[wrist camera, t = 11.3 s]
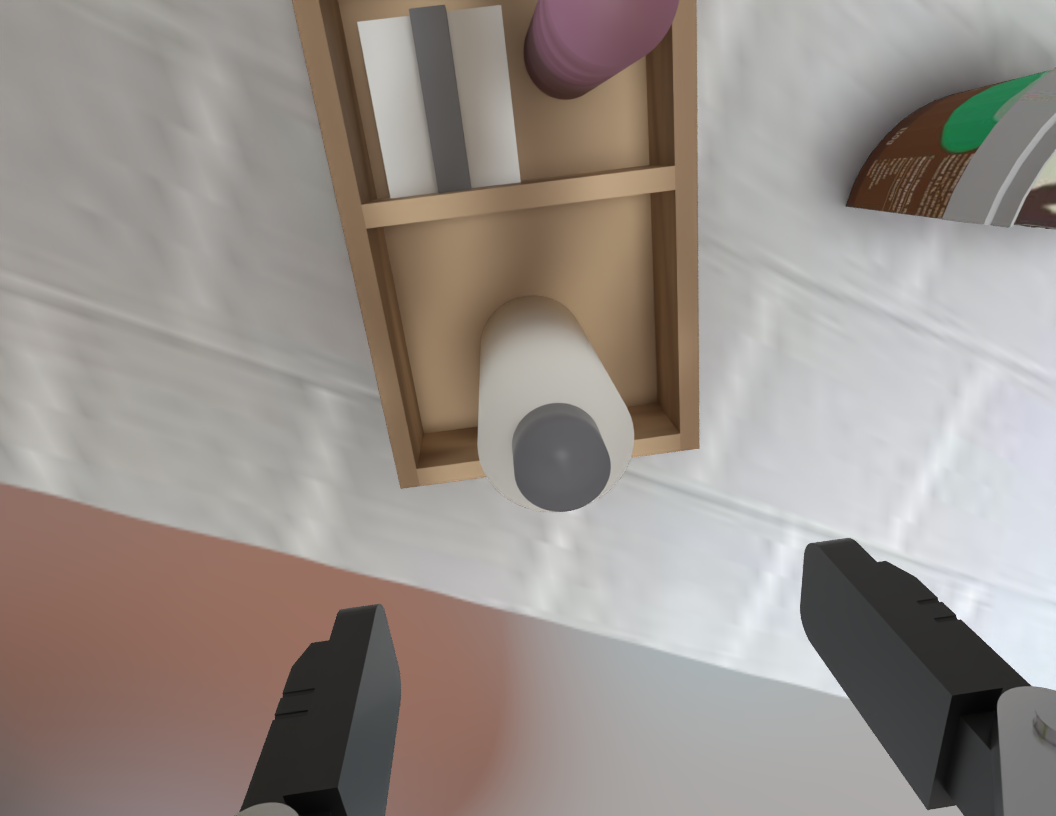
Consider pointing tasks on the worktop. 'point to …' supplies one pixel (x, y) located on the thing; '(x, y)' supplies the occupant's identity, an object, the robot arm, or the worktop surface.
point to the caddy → (513, 198)
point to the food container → (971, 158)
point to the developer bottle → (548, 409)
